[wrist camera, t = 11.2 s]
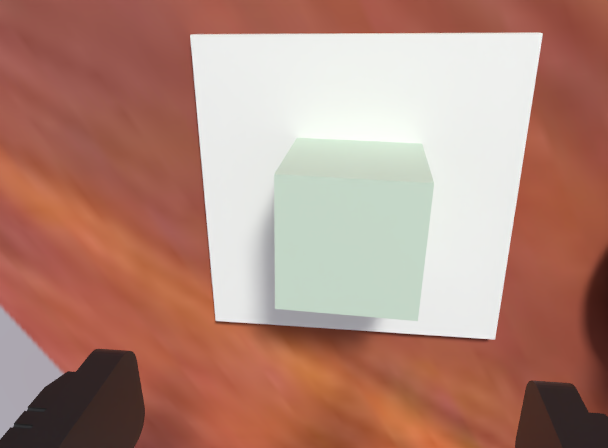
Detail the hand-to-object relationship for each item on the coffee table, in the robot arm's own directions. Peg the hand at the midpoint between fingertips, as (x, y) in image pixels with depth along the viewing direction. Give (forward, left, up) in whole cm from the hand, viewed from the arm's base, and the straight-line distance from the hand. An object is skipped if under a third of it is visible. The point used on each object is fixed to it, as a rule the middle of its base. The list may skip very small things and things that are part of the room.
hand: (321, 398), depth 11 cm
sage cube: (0, 0, -12) cm, 12 cm away
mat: (0, 0, -13) cm, 13 cm away
